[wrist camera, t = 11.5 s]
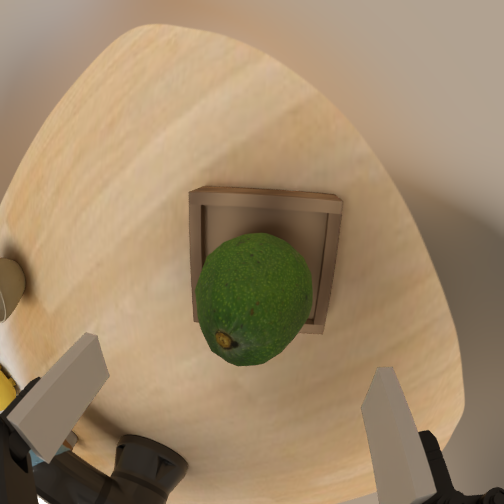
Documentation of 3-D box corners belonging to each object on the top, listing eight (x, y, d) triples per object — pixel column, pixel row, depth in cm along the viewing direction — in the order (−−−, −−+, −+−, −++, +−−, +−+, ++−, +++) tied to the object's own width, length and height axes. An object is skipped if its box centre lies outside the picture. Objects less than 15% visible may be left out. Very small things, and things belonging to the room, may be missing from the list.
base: (204, 301, 30) (193, 321, 26) (203, 186, 26) (188, 191, 22) (319, 312, 28) (322, 334, 25) (334, 194, 24) (343, 201, 21)
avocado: (276, 200, 22) (263, 248, 11) (324, 278, 24) (347, 375, 13) (198, 250, 25) (131, 326, 13) (248, 318, 26) (221, 419, 15)
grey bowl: (43, 299, 34) (13, 322, 27) (16, 305, 36) (-9, 324, 29) (19, 238, 31) (-15, 254, 24) (-4, 252, 33) (-33, 267, 26)
